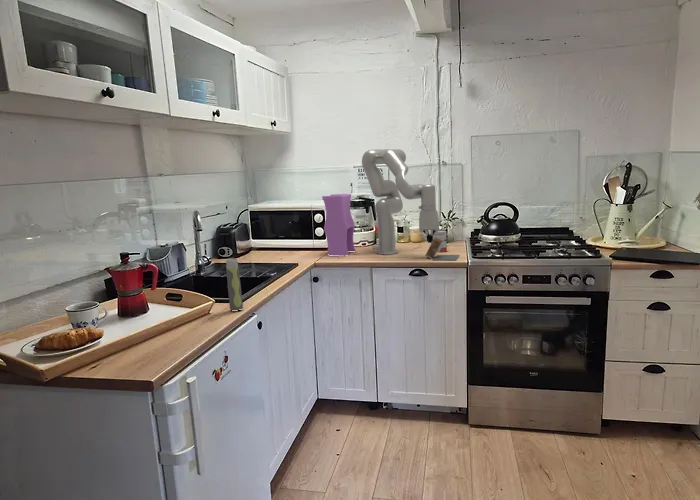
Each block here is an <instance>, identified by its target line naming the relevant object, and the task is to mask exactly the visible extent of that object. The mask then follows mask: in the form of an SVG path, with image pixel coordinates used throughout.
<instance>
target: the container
mask: <svg viewBox="0 0 700 500" xmlns="http://www.w3.org/2000/svg"><path fill="white" fill-rule="evenodd" d="M321 198H322V200H323V203H324V207H325V211H326V213H325V214H326V215H325V221H324V226H323V230H324V234H325V237H326V240H327V254H329V255H349V254H350V253H348V251H356V247H355V243H354V232H355V222H354V219H353V217H352V212H351V199H352V193H340V194H338V193H337V194H330V195H322V196H321ZM356 252H357V251H356ZM349 256H350V255H349Z"/></svg>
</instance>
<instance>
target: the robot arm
mask: <svg viewBox="0 0 700 500" xmlns="http://www.w3.org/2000/svg"><path fill="white" fill-rule="evenodd" d="M406 161H407V156H406V153H405V152H404V151H403V150H402V149H389V148H388V149H385V148H384V149H381V148H380V149H369V150H367V151H365V152H364V153H363V155H362V157H361V165H362V169H363V171H364V174H365V175H366V178H367V181H368V184H369V187H370V190H371V193H372V195H373V196H374V197H375V198H381V199H379V200H377V201H376V202H375V205H374V206H375V207H374V209H375V214H376V218H377V219H376V220H377V231H378V232H377V233H378V245H372V247H371V248H372V250H376V254H377V253H378V255H383V254H384V255H385V256H386V255H394V254H395V255H396V254H398V253H399V250H398V249H397V248H396V230H395V229H396V228H395V220H394V217H393V216H392V215H395V214H398V213H400V212H402V211H403V207H404V205H403V204H404V203H403V199H402V197H403V198H405V199H407V200H410V201H411V200H416V199H420V203H421V205H420V206H419V205H418V209H419V210H420V211H419V217H418V219H419V220H418V227H419V228H418V229H419V232H421V233H424V234H425V236H426V242H427V243H428V244H431V243H432V241H433V234H434V233H435V232H438V231H441V230H440V219H439V212H438V210H437V205H436V204H437V203H436V202H437V201H436V199H437V198H436V185H434V184H432V183H431V184H421V183H419V184H417V183H416V184H410V183H409V182H408V180H407V179H406V175H407V174H408V172H409V167H408V166H407V164H406V163H405V162H406ZM377 165H386V167H387V168H388V169H389V170H390V172H391V173H392V175H393V176H394V178H395V179H394V181H395V182H394V181H393V180H391V179H384V177H383V173H382V172H381V170H380V168H379V167H377ZM400 194H401V195H402V197H401V195H400Z"/></svg>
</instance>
